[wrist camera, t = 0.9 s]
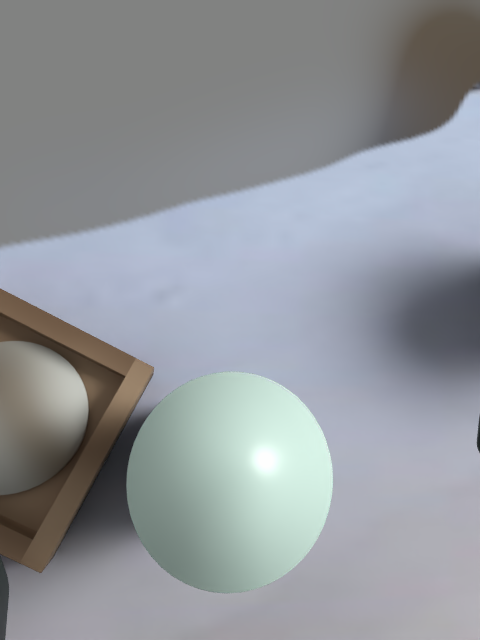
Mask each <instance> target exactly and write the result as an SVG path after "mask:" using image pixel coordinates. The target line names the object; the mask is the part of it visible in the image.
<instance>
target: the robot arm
mask: <svg viewBox="0 0 480 640" xmlns="http://www.w3.org/2000/svg"><path fill="white" fill-rule="evenodd" d="M477 447H478V450H479V452H480V416H479V425H478V435H477ZM8 598H9V584H8V577H7V574H6V571H5V568H4V565H3V562H2V559H1V556H0V640H5V635H6V623H7V610H8Z"/></svg>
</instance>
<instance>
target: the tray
mask: <svg viewBox="0 0 480 640" xmlns="http://www.w3.org/2000/svg"><path fill="white" fill-rule="evenodd" d="M153 372H154V367H152V366H150V365H148V364H146V363H144V362H142V361H140V360H138V359H136V358H135V357H133V356H131V355H129V354H127V353H125V352H123V351H121V350H119V349H117V348H115V347H113V346H111V345H109V344H107V343H105V342H103V341H101V340H100V339H98V338H96V337H94V336H92V335H90V334H88V333H86V332H84V331H82V330H80V329H78V328H76V327H74V326H72V325H70V324H68V323H66V322H64V321H63V320H61V319H59V318H57V317H55V316H53V315H51V314H49V313H47V312H45V311H43V310H41V309H39V308H37V307H35V306H33V305H31V304H29V303H28V302H26V301H24V300H22V299H20V298H18V297H16V296H14V295H12V294H10V293H8V292H6V291H4V290H2V289H0V554H1V555H4V556H6V557H8V558H10V559H12V560H14V561H16V562H18V563H20V564H23V565H25V566H27V567H29V568H31V569H33V570H35V571H37V572H39V573H41V572H42V571H43V570H44V569H45V567H46V566H47V565H48V563H49V562H50V561H51V559H52V558H53V556H54V555H55V553H56V551H57V549H58V547H59V545H60V544H61V542H62V540H63V538H64V536H65V534H66V533H67V531H68V529H69V527H70V525H71V524H72V522H73V520H74V518H75V516H76V514H77V513H78V511H79V509H80V507H81V505H82V503H83V502H84V500H85V498H86V496H87V494H88V493H89V491H90V489H91V487H92V485H93V483H94V482H95V480H96V478H97V476H98V474H99V472H100V471H101V469H102V467H103V465H104V463H105V461H106V460H107V458H108V456H109V454H110V452H111V451H112V449H113V447H114V445H115V443H116V441H117V440H118V438H119V436H120V434H121V432H122V430H123V429H124V427H125V425H126V423H127V421H128V420H129V418H130V416H131V414H132V412H133V410H134V409H135V407H136V405H137V403H138V401H139V399H140V398H141V396H142V394H143V392H144V390H145V389H146V387H147V385H148V383H149V381H150V379H151V378H152V376H153Z"/></svg>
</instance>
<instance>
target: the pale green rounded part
mask: <svg viewBox="0 0 480 640" xmlns="http://www.w3.org/2000/svg"><path fill="white" fill-rule="evenodd" d="M332 486H333V475H332V463H331V458H330V452H329V449H328V446H327V442H326V439H325V437H324V435H323V432H322V430H321V428H320V426H319V424H318V423H317V421H316V419H315V418H314V416H313V415H312V413H311V412H310V411H309V409H308V408H307V407H306V406H305V405H304V404H303V403H302V402H301V401H300V400H299V399H298V397H296V396H295V395H294V394H293V393H291V392H290V391H289V390H288V389H286V388H284V387H283V386H281V385H280V384H278V383H276V382H274V381H272V380H269V379H267V378H265V377H262V376H258V375H255V374H250V373H244V372H220V373H213V374H209V375H205V376H201V377H199V378H196V379H194V380H191V381H189V382H187V383H185V384H184V385H182V386H180V387H178V388H177V389H175V390H174V391H173V392H171V393H170V394H169V395H167V396H166V397H165V398H164V399H163V400H162V401H161V402H160V403H159V404H158V405H157V406H156V407H155V408H154V409H153V411H152V412H151V413H150V414H149V416H148V417H147V419H146V420H145V422H144V424H143V425H142V427H141V428H140V430H139V433H138V435H137V437H136V439H135V441H134V444H133V447H132V451H131V454H130V458H129V463H128V469H127V482H126V489H127V502H128V506H129V511H130V516H131V519H132V522H133V525H134V527H135V530H136V532H137V534H138V536H139V538H140V540H141V542H142V544H143V545H144V547H145V548H146V550H147V551H148V553H149V554H150V555H151V557H152V558H153V559H154V560H155V561H156V562H157V563H158V564H159V565H160V566H161V567H162V568H163V569H164V570H166V571H167V572H168V573H169V574H171V575H172V576H173V577H175V578H177V579H178V580H180V581H182V582H184V583H185V584H188V585H190V586H193V587H195V588H198V589H201V590H206V591H210V592H217V593H238V592H245V591H249V590H254V589H257V588H260V587H262V586H265V585H268V584H270V583H272V582H273V581H275V580H277V579H279V578H281V577H282V576H284V575H285V574H286V573H288V572H289V571H290V570H292V569H293V568H294V567H295V566H296V565H297V564H298V563H299V562H300V561H301V560H302V559H303V558H304V557H305V556H306V554H307V553H308V552H309V550H310V549H311V548H312V546H313V545H314V543H315V541H316V540H317V538H318V536H319V535H320V533H321V530H322V528H323V526H324V524H325V521H326V518H327V515H328V511H329V508H330V502H331V497H332Z"/></svg>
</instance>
